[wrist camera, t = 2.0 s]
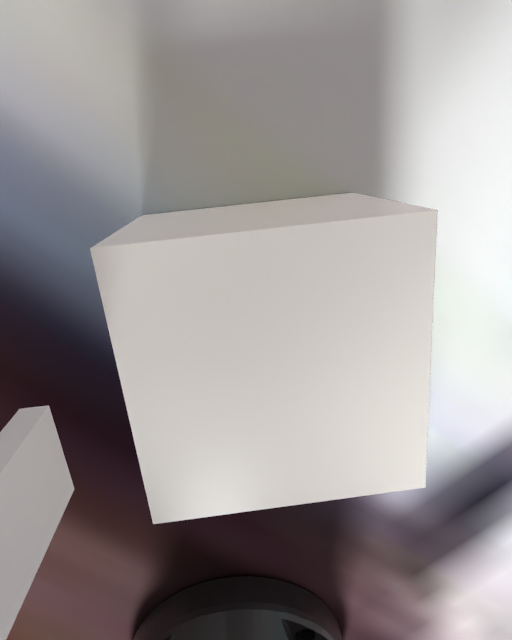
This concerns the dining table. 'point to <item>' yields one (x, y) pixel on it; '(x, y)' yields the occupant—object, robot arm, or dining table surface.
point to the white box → (273, 350)
